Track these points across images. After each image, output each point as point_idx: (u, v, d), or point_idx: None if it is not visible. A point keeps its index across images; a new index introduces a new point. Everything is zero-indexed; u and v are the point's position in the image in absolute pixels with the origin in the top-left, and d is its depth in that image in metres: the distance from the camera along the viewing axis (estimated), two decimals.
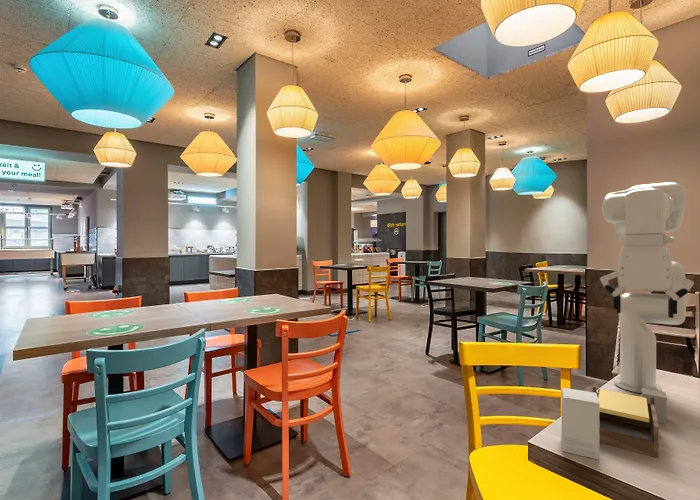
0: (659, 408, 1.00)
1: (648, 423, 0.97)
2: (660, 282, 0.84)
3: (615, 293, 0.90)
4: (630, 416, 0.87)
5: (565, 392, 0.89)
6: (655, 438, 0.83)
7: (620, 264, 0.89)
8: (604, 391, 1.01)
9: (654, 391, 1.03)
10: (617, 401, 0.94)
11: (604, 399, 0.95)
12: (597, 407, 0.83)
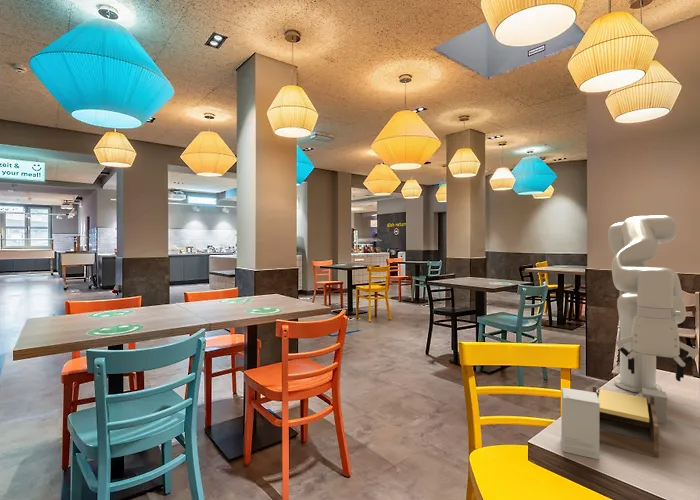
0: (659, 408, 1.00)
1: (648, 423, 0.97)
2: (669, 350, 0.98)
3: (629, 356, 1.04)
4: (630, 416, 0.87)
5: (565, 392, 0.89)
6: (655, 438, 0.83)
7: (634, 331, 1.03)
8: (604, 391, 1.01)
9: (654, 391, 1.03)
10: (617, 401, 0.94)
11: (604, 399, 0.95)
12: (597, 407, 0.83)
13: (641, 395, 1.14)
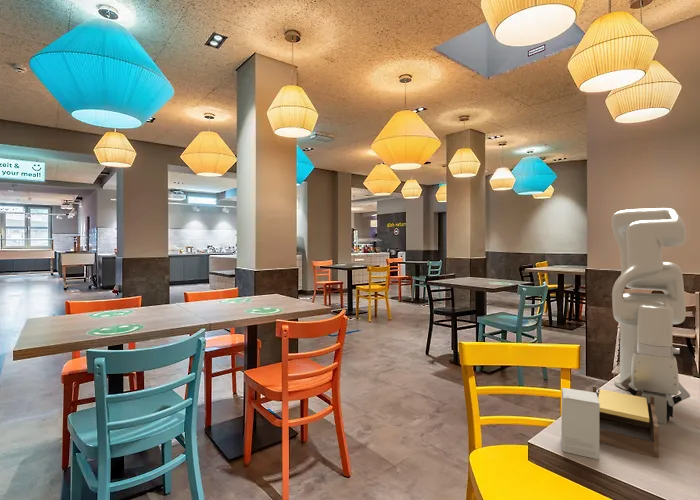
0: (659, 408, 1.00)
1: (648, 423, 0.97)
2: (668, 387, 0.99)
3: None
4: (630, 416, 0.87)
5: (565, 392, 0.89)
6: (655, 438, 0.83)
7: (633, 367, 1.03)
8: (604, 391, 1.01)
9: None
10: (617, 401, 0.94)
11: (604, 399, 0.95)
12: (597, 407, 0.83)
13: None
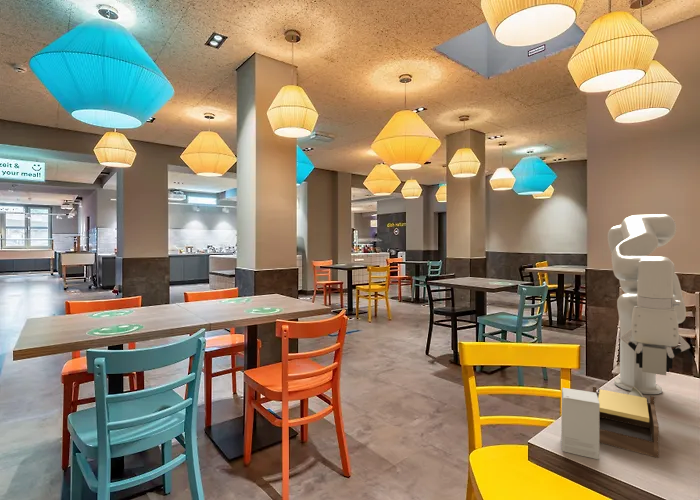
0: (659, 360, 1.00)
1: (648, 423, 0.97)
2: (668, 339, 0.99)
3: (637, 350, 1.04)
4: (630, 416, 0.87)
5: (565, 392, 0.89)
6: (655, 438, 0.83)
7: (633, 321, 1.04)
8: (604, 391, 1.01)
9: (654, 345, 1.03)
10: (617, 401, 0.94)
11: (604, 399, 0.95)
12: (597, 407, 0.83)
13: (635, 394, 1.15)
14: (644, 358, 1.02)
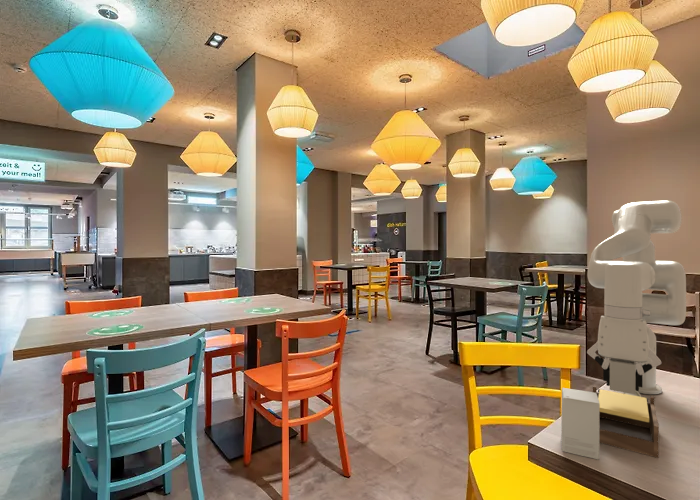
0: (627, 377, 0.89)
1: (648, 423, 0.97)
2: (637, 354, 0.88)
3: (604, 366, 0.93)
4: (630, 416, 0.87)
5: (565, 392, 0.89)
6: (655, 438, 0.83)
7: (600, 333, 0.93)
8: (604, 391, 1.01)
9: None
10: (617, 401, 0.94)
11: (604, 399, 0.95)
12: (597, 407, 0.83)
13: (632, 394, 1.15)
14: (611, 374, 0.91)
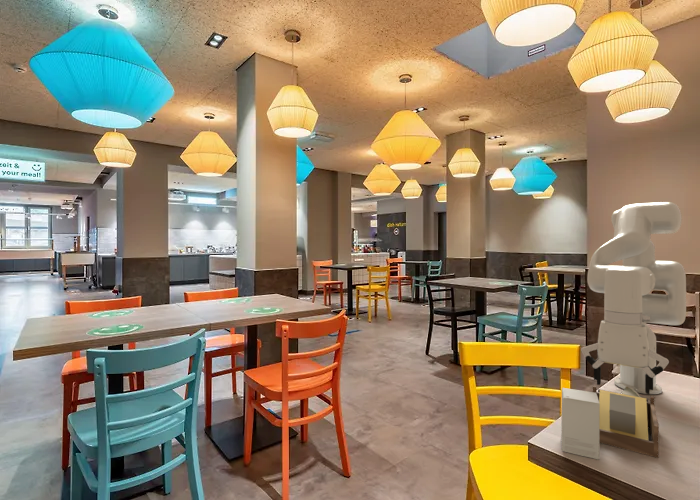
0: (627, 422, 0.89)
1: (648, 423, 0.97)
2: (637, 359, 0.88)
3: (595, 365, 0.94)
4: None
5: (565, 392, 0.89)
6: (655, 438, 0.83)
7: (600, 338, 0.93)
8: (604, 394, 1.01)
9: (622, 401, 0.90)
10: None
11: (604, 413, 0.96)
12: (597, 407, 0.83)
13: (629, 393, 1.15)
14: (611, 419, 0.91)
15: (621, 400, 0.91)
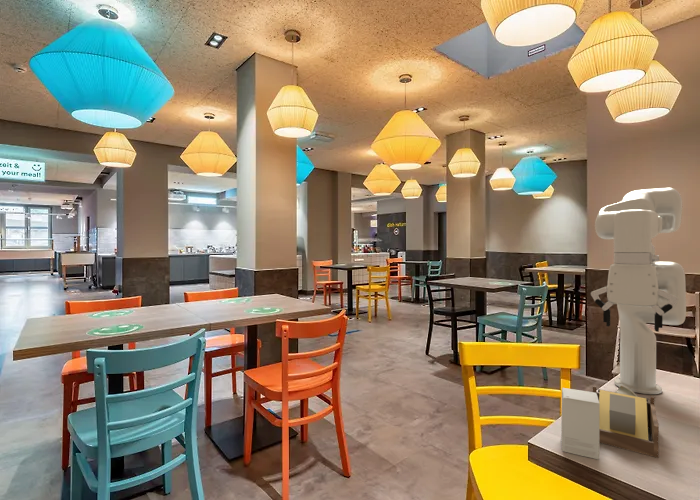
0: (627, 422, 0.89)
1: (648, 423, 0.97)
2: (646, 298, 0.90)
3: (605, 307, 0.95)
4: None
5: (565, 392, 0.89)
6: (655, 438, 0.83)
7: (609, 280, 0.94)
8: (604, 394, 1.01)
9: (622, 401, 0.90)
10: None
11: (604, 413, 0.96)
12: (597, 407, 0.83)
13: (625, 393, 1.16)
14: (611, 419, 0.91)
15: (621, 400, 0.91)
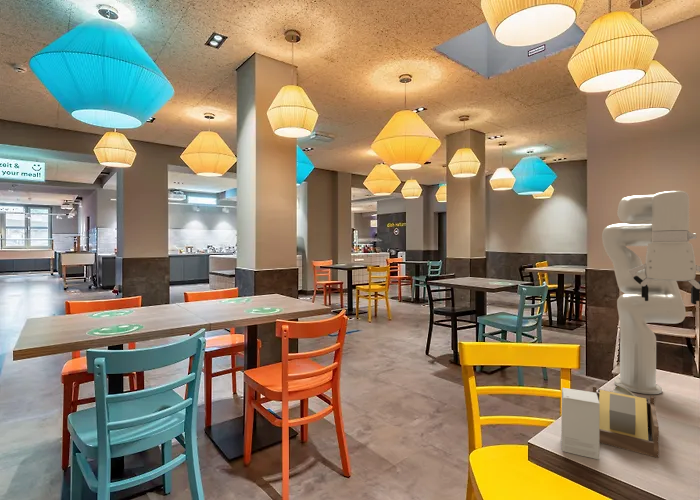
0: (627, 422, 0.89)
1: (648, 423, 0.97)
2: (684, 273, 0.96)
3: (643, 283, 1.02)
4: None
5: (565, 392, 0.89)
6: (655, 438, 0.83)
7: (648, 257, 1.01)
8: (604, 394, 1.01)
9: (622, 401, 0.90)
10: None
11: (604, 413, 0.96)
12: (597, 407, 0.83)
13: (622, 393, 1.16)
14: (611, 419, 0.91)
15: (621, 400, 0.91)
